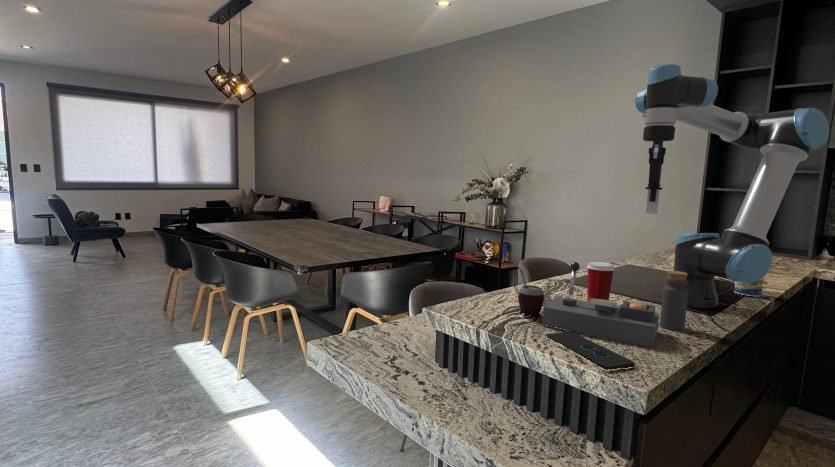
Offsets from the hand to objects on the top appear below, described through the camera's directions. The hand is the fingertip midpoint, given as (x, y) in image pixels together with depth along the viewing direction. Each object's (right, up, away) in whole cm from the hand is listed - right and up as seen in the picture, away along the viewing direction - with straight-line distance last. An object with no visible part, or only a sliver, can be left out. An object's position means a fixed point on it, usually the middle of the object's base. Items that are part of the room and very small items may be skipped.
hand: (651, 213), depth 126 cm
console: (-17, -30, -6) cm, 35 cm away
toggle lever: (-23, -22, -3) cm, 32 cm away
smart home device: (-27, -33, -23) cm, 48 cm away
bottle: (+4, -31, -3) cm, 31 cm away
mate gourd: (-33, -29, +3) cm, 44 cm away
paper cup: (-10, -29, +12) cm, 33 cm away
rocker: (-16, -23, -7) cm, 29 cm away
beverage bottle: (+55, -28, +40) cm, 73 cm away
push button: (-9, -26, -11) cm, 30 cm away
